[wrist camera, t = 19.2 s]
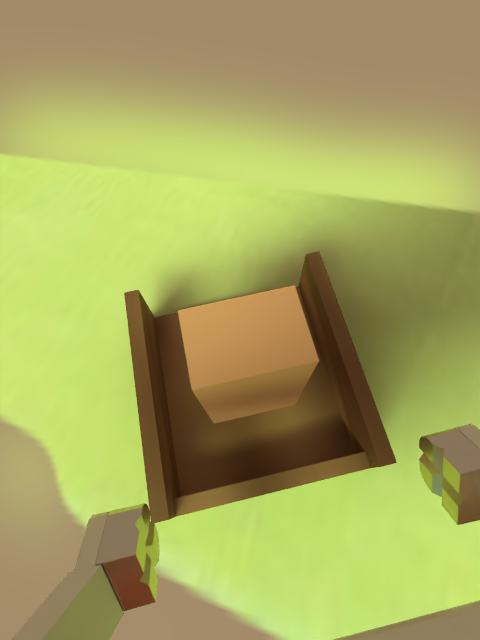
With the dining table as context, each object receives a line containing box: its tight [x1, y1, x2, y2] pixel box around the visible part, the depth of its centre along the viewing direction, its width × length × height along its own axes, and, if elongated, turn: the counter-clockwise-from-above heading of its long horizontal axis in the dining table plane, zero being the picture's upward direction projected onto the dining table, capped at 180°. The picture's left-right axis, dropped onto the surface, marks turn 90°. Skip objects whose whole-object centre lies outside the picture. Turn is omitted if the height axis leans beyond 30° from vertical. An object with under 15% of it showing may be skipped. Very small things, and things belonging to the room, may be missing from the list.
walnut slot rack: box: [124, 252, 397, 523], centre depth 22 cm, size 13×12×5 cm
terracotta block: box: [178, 285, 319, 424], centre depth 19 cm, size 5×3×9 cm
